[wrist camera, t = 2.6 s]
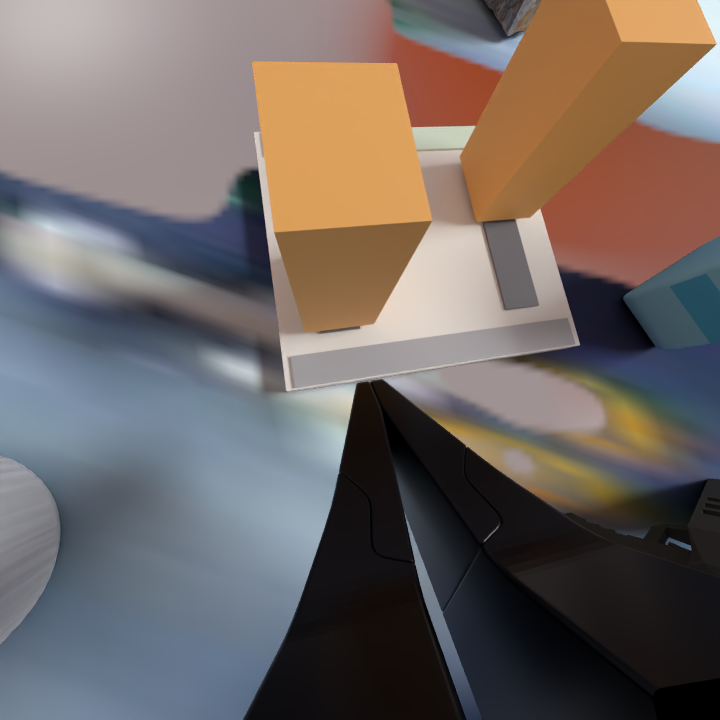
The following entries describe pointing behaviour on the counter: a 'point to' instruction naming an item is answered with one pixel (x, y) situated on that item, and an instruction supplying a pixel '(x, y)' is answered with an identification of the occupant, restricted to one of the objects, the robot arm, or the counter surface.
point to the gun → (678, 535)
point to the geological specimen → (514, 13)
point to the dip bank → (436, 289)
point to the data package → (681, 301)
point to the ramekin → (24, 542)
